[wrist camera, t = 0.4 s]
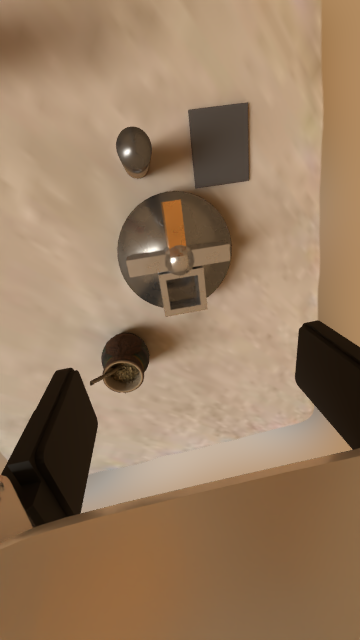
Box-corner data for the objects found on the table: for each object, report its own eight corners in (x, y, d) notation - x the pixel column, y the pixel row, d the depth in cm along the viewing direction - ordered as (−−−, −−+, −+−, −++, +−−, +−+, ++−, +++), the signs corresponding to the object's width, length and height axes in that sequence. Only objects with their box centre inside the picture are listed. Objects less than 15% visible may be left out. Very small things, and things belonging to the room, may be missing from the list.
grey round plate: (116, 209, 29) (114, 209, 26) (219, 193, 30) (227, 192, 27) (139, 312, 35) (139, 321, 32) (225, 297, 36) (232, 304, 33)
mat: (188, 110, 29) (188, 109, 29) (246, 103, 29) (247, 102, 29) (195, 188, 32) (196, 188, 32) (247, 180, 33) (248, 180, 32)
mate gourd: (149, 365, 43) (149, 408, 34) (103, 365, 42) (92, 410, 33) (150, 328, 40) (151, 364, 31) (101, 327, 39) (88, 365, 30)
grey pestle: (121, 151, 30) (112, 129, 21) (146, 148, 30) (148, 124, 21) (126, 180, 31) (120, 170, 22) (150, 176, 31) (154, 166, 22)
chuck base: (106, 201, 32) (103, 201, 29) (221, 184, 33) (228, 182, 30) (132, 308, 38) (131, 316, 35) (227, 292, 39) (233, 298, 36)
